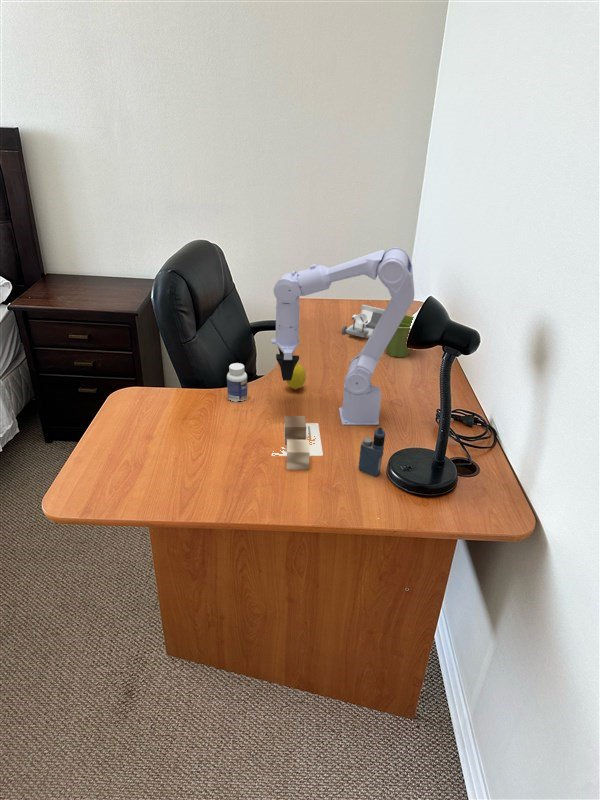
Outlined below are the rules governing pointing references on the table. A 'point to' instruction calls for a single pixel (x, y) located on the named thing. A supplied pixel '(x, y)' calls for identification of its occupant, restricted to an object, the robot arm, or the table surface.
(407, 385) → the table surface
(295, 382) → the lemon
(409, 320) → the plant pot
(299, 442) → the beech block
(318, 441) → the letter
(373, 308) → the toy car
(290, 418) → the walnut block
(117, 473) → the table surface
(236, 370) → the pill bottle
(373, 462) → the vaping device
